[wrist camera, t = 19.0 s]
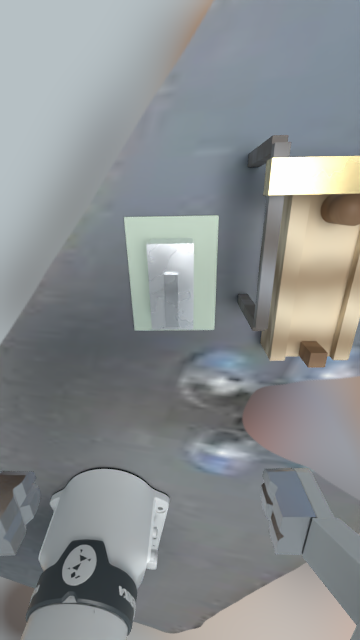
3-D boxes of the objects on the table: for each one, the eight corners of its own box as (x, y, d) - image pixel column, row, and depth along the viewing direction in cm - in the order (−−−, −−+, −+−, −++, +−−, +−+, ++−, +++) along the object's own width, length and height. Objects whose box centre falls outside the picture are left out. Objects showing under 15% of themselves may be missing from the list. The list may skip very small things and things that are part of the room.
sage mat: (213, 327, 30) (214, 329, 30) (135, 328, 31) (134, 330, 30) (218, 215, 26) (218, 215, 25) (125, 216, 26) (123, 217, 25)
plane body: (355, 342, 31) (406, 383, 24) (234, 343, 31) (249, 384, 24) (409, 150, 23) (507, 127, 16) (248, 154, 24) (276, 132, 17)
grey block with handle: (192, 313, 29) (193, 332, 25) (155, 314, 29) (151, 332, 25) (192, 237, 26) (193, 244, 22) (151, 238, 26) (145, 245, 22)
